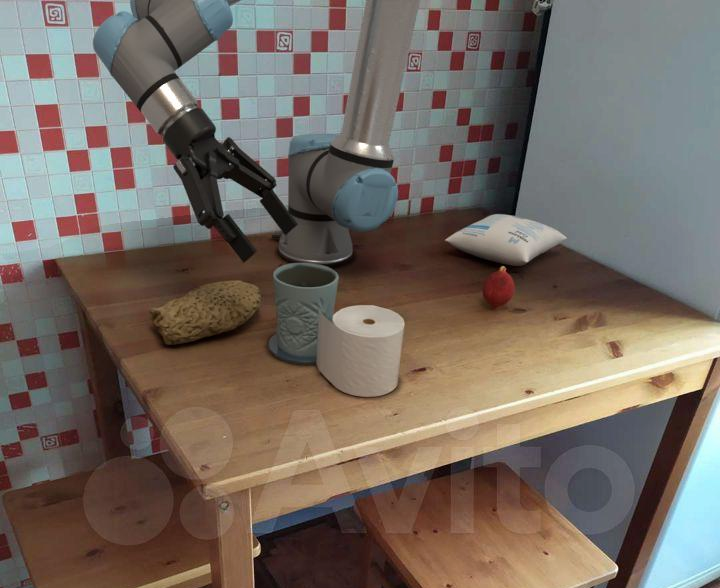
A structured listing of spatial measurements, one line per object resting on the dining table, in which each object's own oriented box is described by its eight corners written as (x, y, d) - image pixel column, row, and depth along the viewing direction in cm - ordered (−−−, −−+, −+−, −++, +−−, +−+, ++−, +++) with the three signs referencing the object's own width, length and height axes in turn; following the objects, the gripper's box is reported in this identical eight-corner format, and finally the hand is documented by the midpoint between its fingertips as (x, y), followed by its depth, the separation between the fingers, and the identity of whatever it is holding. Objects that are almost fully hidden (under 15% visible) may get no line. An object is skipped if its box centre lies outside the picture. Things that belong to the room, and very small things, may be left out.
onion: (509, 316, 139) (518, 275, 134) (478, 312, 140) (486, 270, 135) (510, 304, 144) (519, 263, 139) (480, 299, 145) (488, 259, 140)
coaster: (255, 353, 121) (255, 350, 121) (288, 325, 130) (288, 322, 129) (321, 371, 118) (321, 368, 118) (350, 342, 127) (350, 338, 126)
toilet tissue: (405, 396, 114) (413, 335, 108) (327, 400, 111) (330, 338, 105) (388, 361, 122) (394, 303, 116) (315, 364, 120) (317, 305, 114)
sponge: (176, 363, 119) (286, 317, 126) (158, 317, 115) (273, 271, 121) (151, 341, 129) (254, 300, 136) (134, 298, 125) (242, 257, 131)
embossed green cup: (287, 363, 118) (288, 291, 111) (263, 335, 125) (262, 265, 118) (345, 353, 122) (350, 282, 115) (318, 326, 129) (321, 258, 122)
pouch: (493, 199, 170) (448, 216, 156) (571, 224, 162) (532, 244, 148) (485, 234, 174) (441, 254, 161) (561, 260, 167) (522, 282, 153)
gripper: (210, 123, 123) (292, 232, 128) (115, 157, 104) (215, 283, 109) (238, 91, 118) (321, 206, 123) (143, 121, 99) (247, 255, 105)
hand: (272, 243), depth 116 cm, fingers open, 13 cm apart
